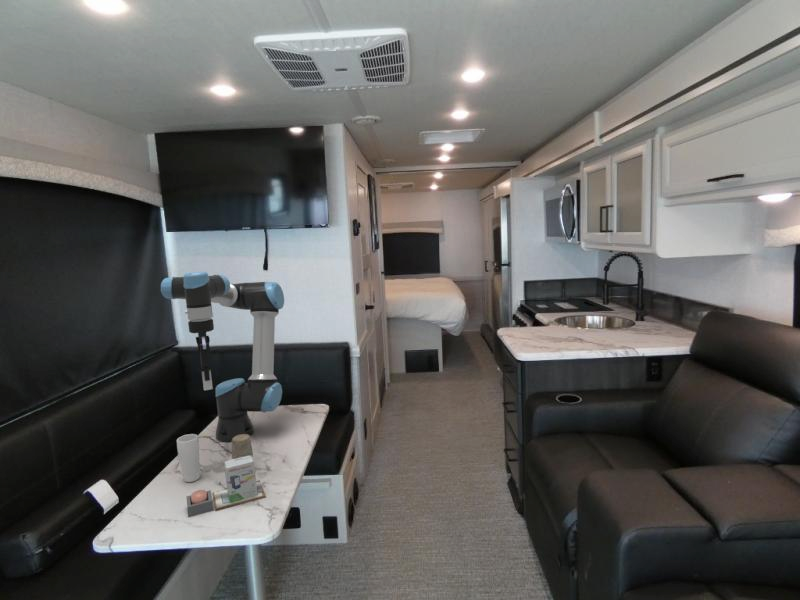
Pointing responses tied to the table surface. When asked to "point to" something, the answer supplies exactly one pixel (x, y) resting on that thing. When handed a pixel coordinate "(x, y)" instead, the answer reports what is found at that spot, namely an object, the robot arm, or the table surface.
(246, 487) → the ink box
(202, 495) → the button
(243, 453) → the carving
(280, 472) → the table surface
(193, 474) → the drinking glass
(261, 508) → the table surface
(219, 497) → the picture frame
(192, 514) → the button housing
